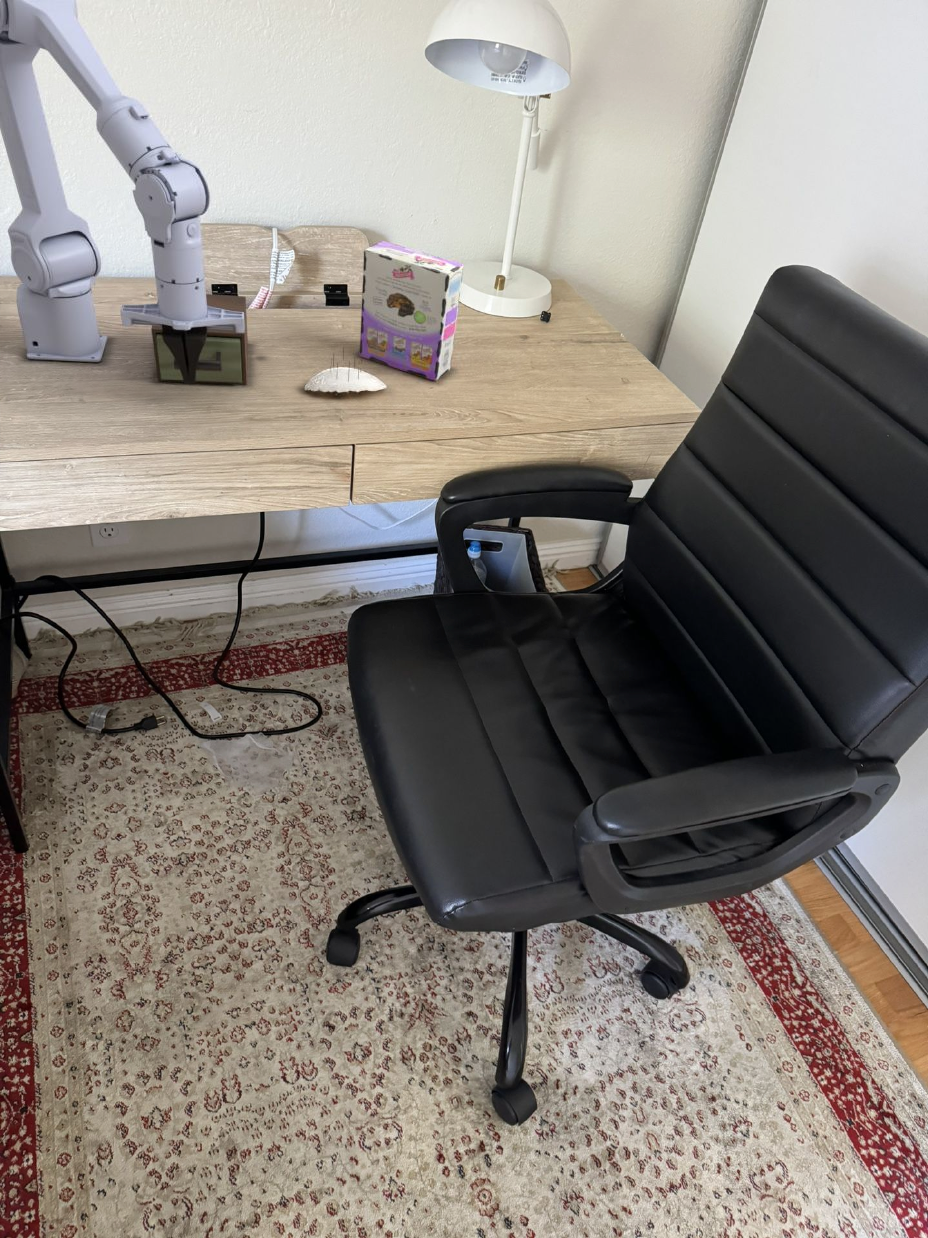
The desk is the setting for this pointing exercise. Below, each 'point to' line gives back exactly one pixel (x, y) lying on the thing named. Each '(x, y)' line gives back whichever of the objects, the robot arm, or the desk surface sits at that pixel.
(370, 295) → the candy box
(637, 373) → the desk surface
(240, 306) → the cabinet
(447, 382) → the desk surface
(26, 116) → the robot arm
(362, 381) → the pincushion
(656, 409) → the desk surface
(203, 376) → the drawer
